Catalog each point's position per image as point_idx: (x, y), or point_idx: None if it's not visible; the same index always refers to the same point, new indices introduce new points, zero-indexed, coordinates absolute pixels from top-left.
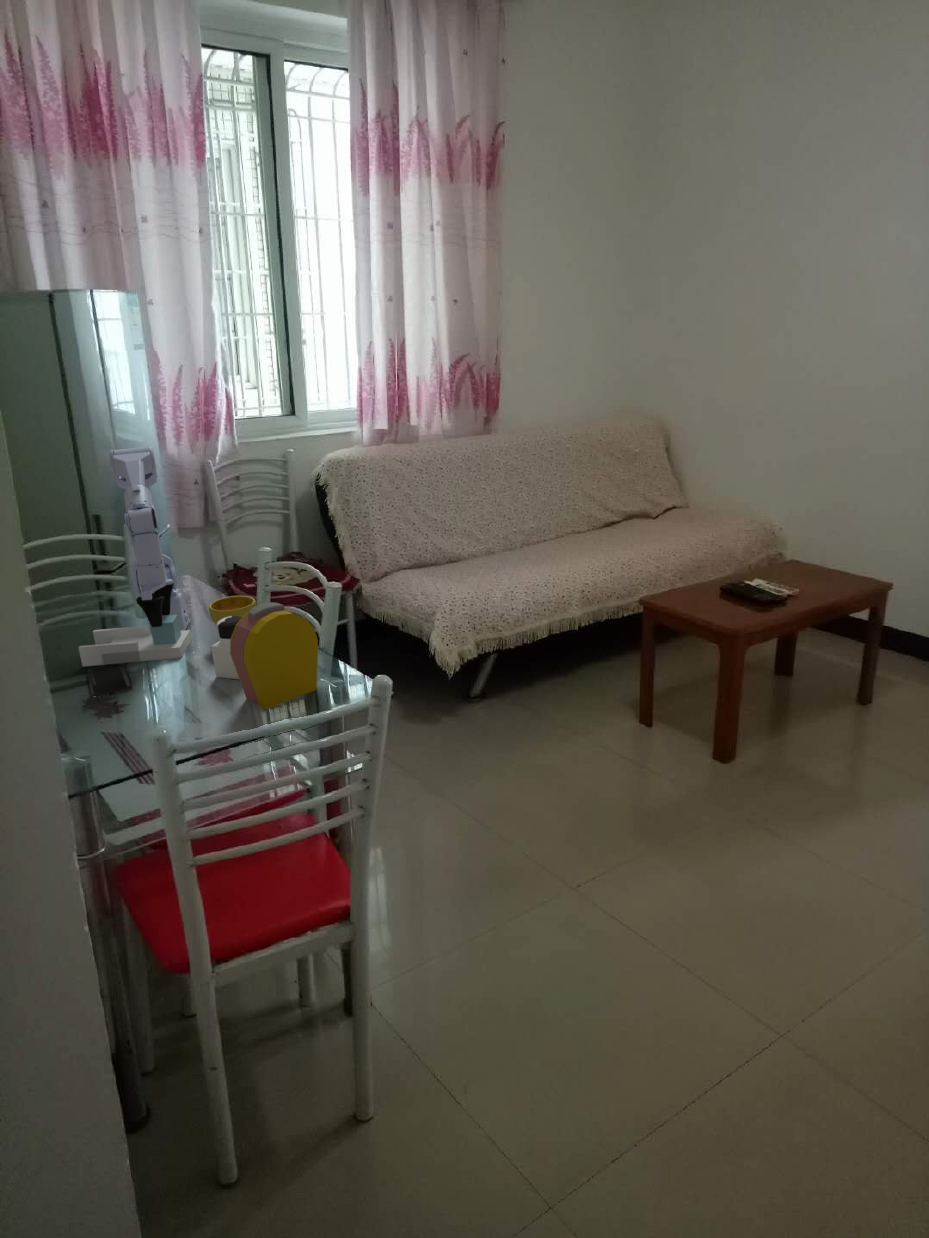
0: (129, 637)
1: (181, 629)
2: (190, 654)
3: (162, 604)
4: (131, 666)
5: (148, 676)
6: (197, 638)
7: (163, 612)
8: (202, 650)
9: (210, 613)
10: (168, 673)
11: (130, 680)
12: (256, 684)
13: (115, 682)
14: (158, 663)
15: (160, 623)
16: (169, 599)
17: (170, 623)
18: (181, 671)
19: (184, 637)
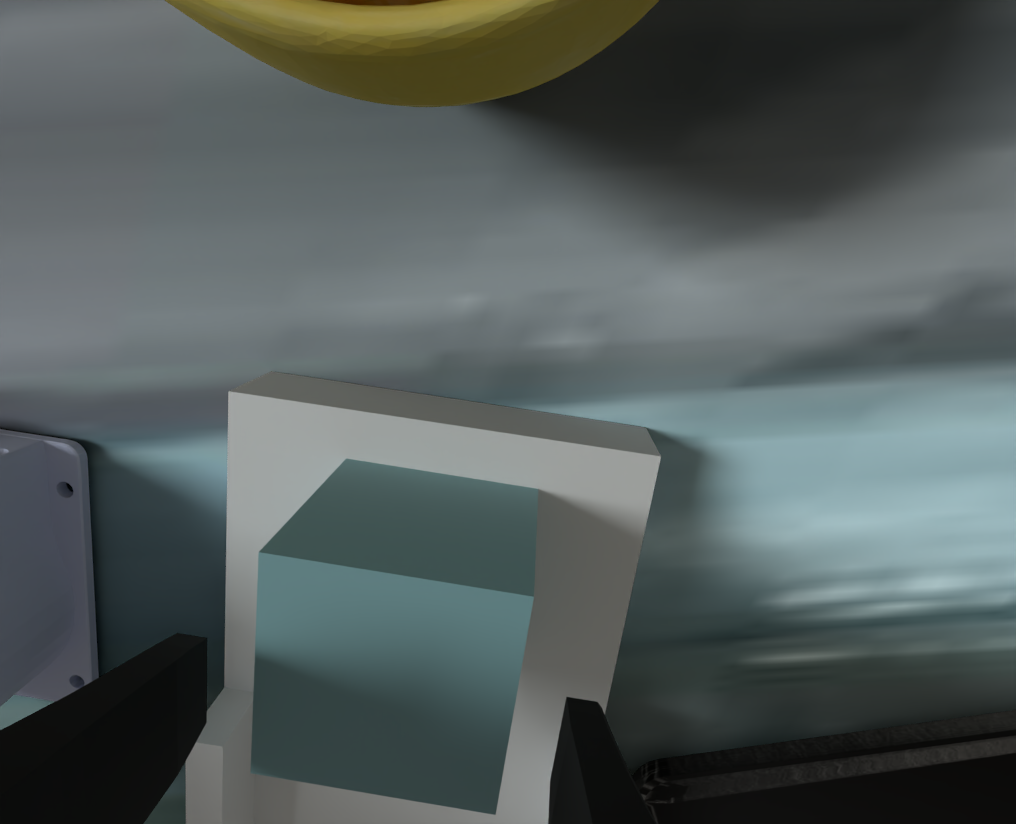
0: (272, 814)
1: (54, 462)
2: (600, 365)
3: (109, 798)
4: (659, 731)
5: (911, 624)
6: (248, 329)
7: (186, 715)
8: (547, 273)
9: (537, 57)
10: (931, 502)
11: (999, 732)
12: None
13: (964, 807)
14: (686, 578)
15: (610, 732)
16: (48, 762)
17: (529, 612)
18: (945, 413)
19: (416, 429)
